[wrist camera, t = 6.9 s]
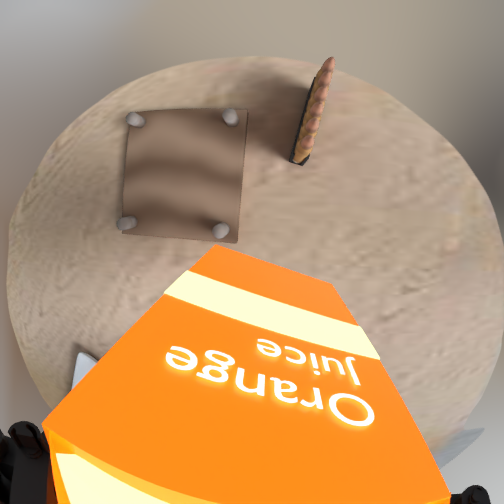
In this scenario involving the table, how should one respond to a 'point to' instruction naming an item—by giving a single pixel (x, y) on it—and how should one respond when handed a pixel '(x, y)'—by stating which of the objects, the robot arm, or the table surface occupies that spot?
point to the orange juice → (241, 402)
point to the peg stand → (184, 174)
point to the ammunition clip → (312, 114)
